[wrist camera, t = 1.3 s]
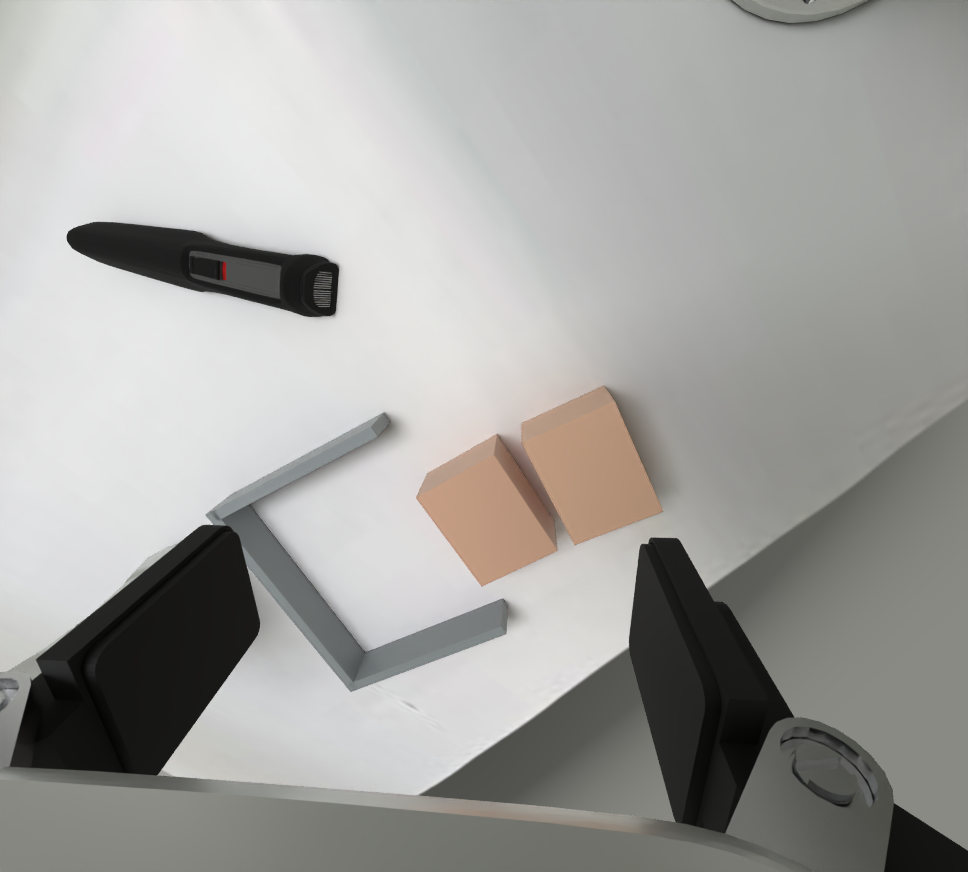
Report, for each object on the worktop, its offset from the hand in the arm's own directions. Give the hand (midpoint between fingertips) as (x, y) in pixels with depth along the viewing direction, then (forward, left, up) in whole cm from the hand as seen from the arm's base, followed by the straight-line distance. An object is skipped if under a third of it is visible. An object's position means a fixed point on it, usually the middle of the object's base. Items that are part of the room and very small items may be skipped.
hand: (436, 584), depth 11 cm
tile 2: (-3, +8, -22) cm, 23 cm away
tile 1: (+4, +8, -22) cm, 23 cm away
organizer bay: (+15, +8, -21) cm, 27 cm away
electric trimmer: (+12, -14, -22) cm, 29 cm away
